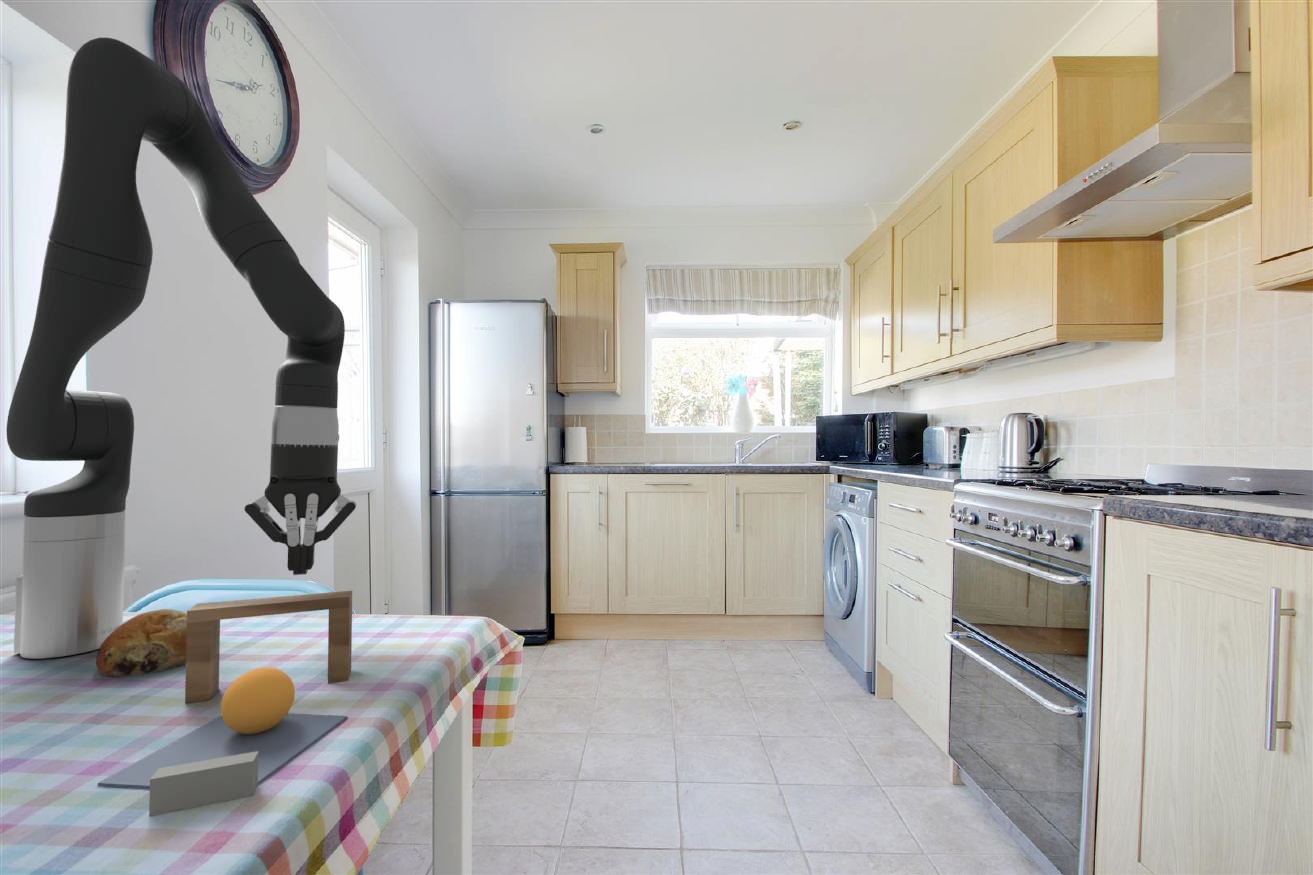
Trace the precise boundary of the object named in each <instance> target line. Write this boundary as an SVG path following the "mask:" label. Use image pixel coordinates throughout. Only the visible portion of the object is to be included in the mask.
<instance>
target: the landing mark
mask: <svg viewBox="0 0 1313 875" xmlns="http://www.w3.org/2000/svg"><path fill="white" fill-rule="evenodd" d="M347 719H348V715H334V714H333V715H332V714H311V713H310V714H309V713H289V712H288V714H287V715H286V716H285V717H284V719H283V720H282V721H280V722H279V723H278V724H277V725H275V726H274V727H272V728H270V729H269V730H266V731H264V732H261V733H257V734H242V733H238V732H236V731H233V730H232V729H230V728H229V727H228V726H227V725H226V724H225V722H224V720H223V718H222V715H220V716H218V717H216V718H214V719H212V720H211V721H209V722H206V723H205V724H203V725H201V726H198V728H195V729H194V730H192V731H191V732H188V733H187V734H185V735H183V736H181V737H179V738H178V739H176V740H174V741H172V742H170V743H168V744H166V745H164V746H163V747H161V748H159V749H157V750H156V751H154V752H152V753H150V754H148V755H146V756H144V757H143V758H141V759H139V760H137V761H135V762H133V763H132V764H129V765H127V766H126V767H124V768H122V769H121V770H118V771H117V772H115V773H113V774H112V775H109V776H108V777H106V778H104V779H102V780H100V781H99V782H97V787H112V786H113V787H116V786H117V787H116V788H130V787H131V789H133V788H134V789H148V790H150V779H151V777H152V776H153V775H154V774H155V772H156V771H157V770H158V769H159V768H164V767H169V766H175V765H181V764H187V763H192V762H198V761H204V760H210V759H216V758H221V757H227V756H233V755H239V754H245V753H250V752H256V751H259V752H258V785H260V784H261V783H262V782H264V781H266V779H268V778H269V777H270V776H272V775H273V774H275V772H277V771H279V770H280V769H281V768H283V767H284V766H285V765H287V764H288V763H289V762H290V761H292V760H293V759H295V758H296V757H297V756H298V755H300V754H301V753H303V752H304V751H306V749H307V750H308V748H309V747H311V746H312V745H313V744H315V743H316V742H317V741H319V740H320V739H322V738H323V737H324V736H326V735H327V734H328V733H330V732H331V731H332V730H333V729H335V728H336V727H338V725H340V724H341V723H343V722H344V721H345V720H347Z"/></svg>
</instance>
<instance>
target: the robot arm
mask: <svg viewBox="0 0 1313 875" xmlns="http://www.w3.org/2000/svg"><path fill="white" fill-rule="evenodd" d="M69 66H70V68H69V70H68V76H67V87H66V104H65V105H66V106H65V120H64V121H65V122H64V123H65V124H64V125H65V126H64V147H63V156H62V164H61V170H60V171H61V172H60V177H59V183H58V190H57V196H56V202H55V210H54V215H53V220H52V223H51V228H50V230H49V234H48V240H47V243H46V251H45V256H44V259H43V266H42V271H41V272H42V273H41V279H40V286H39V293H38V299H37V303H36V304H37V305H36V311H35V316H34V317H35V318H34V321H33V326H32V330H31V331H32V332H31V336H30V339H29V344H28V347H27V350H26V353H25V356H24V359H23V364H22V366H21V370H20V372H19V375H18V379H17V382H16V386H15V389H14V391H13V395H12V399H11V402H10V405H9V406H10V407H9V410H8V415H7V422H6V428H5V429H6V441H7V445H8V447H9V450H10V452H11V453H12V454H13V455H14V456H15V457H16V458H19V459H21V460H24V461H31V462H32V461H33V462H34V461H35V462H74V461H76V462H77V461H78V462H79V461H80V462H82V461H84V463H83V466H82V469H81V470H80V472H78V473H77V474H76V475H74V476H73V477H70V478H69V479H67V480H65V481H63V482H60V483H57V484H54V485H51V486H48V487H44V488H40V489H38V490H34V491H32V492H30V493H28V494H27V495H26V497H25V498H24V502H23V503H24V504H23V515H24V517H23V538H22V541H23V546H22V574H21V575H19V576H17V577H16V580H15V600H14V602H15V604H14V630H13V631H14V632H13V634H14V637H13V638H14V640H13V653H14V654H20V657H22V658H23V659H51V658H52V659H53V658H59V657H65V656H66V657H67V656H72V655H77V654H78V655H79V654H82V653H84V654H85V653H87V652H88V653H89V652H92V651H96V650H99V648H100V646H101V644H102V643H103V642H104V640H105V639H106V638H107V637H108V636H109V635H110V634H111V633H112V632H113V631H115V630H116V629H117V628H118V627H119V626H120V625H122V624H123V623H124V622H123V621H124V597H125V596H124V591H125V588H124V586H125V583H124V582H125V542H126V539H125V538H126V537H125V536H126V532H125V531H126V502H127V498H128V497H127V496H128V493H129V488H130V483H131V482H130V481H131V466H132V457H133V456H132V454H133V447H134V446H133V445H134V437H135V417H134V412H133V408H132V406H131V404H130V401H129V400H128V399H127V398H126V397H125V396H123V395H121V394H120V393H114V392H107V391H96V390H95V391H94V390H83V389H81V390H80V389H69V388H68V385H69V383H70V379H71V377H72V375H73V372H75V371H74V370H75V369H76V368H77V365H78V364H79V363H80V360H81V359H82V358H83V357H84V355H85V354H87V352H88V351H89V350H90V349H91V348H92V347H94V346H95V345H96V344H97V343H98V342H100V341H101V340H102V339H103V338H104V337H105V336H107V335H109V334H110V333H111V332H112V331H113V330H115V329H116V328H117V327H119V326H120V325H121V324H123V322H125V321H126V320H127V319H128V318H129V317H130V316H131V315H132V314H133V313H134V312H136V311H137V309H138V308H139V307H140V306H141V305H142V303H143V301H144V299H145V295H146V292H147V291H146V290H147V287H148V283H149V278H150V272H151V269H152V262H153V252H154V251H153V242H152V237H151V233H150V229H149V226H148V222H147V219H146V217H145V213H144V210H143V206H142V204H141V199H140V195H139V192H138V187H137V165H138V159H139V156H140V151H141V144H142V141H145V142H148V143H149V144H151V146H153V147H154V149H155V150H156V151H158V152H159V153H160V154H161V155H162V156H163V157H165V159H166V160H168V162H169V163H170V164H171V165H172V167H174V168H175V169H176V171H177V172H178V173H179V174H180V175H181V177H182V178H183V179H184V180H185V183H186V184H187V185H188V187H189V189H190V191H191V193H192V195H193V198H194V200H195V203H196V206H197V208H198V211H199V215H200V217H201V220H202V222H203V224H204V226H205V227H206V230H207V231H208V233H209V234H210V236H211V238H212V239H213V241H214V242H215V243H216V245H217V246H218V248H219V249H220V250H221V252H222V253H223V254H224V255H225V256H226V258H227V260H229V262H230V263H231V264H232V266H233V267H234V268H235V269H236V271H237V272H238V273H239V275H240V276H242V277H243V279H245V281H246V282H247V283H248V285H249V288H250V289H251V291H252V292H253V294H254V296H255V297H256V299H257V301H258V302H259V304H260V305H261V307H262V309H263V310H264V311H265V313H266V314H267V315H268V317H269V318H270V320H271V321H272V323H273V324H274V325H275V326H276V327H277V328H278V329H279V330H280V332H282V333H283V334H284V335H286V336H287V341H286V342H287V343H286V344H287V345H286V350H285V351H286V353H285V360H284V362H283V363H282V364H280V365H279V366H278V368H277V372H276V377H275V378H276V379H275V392H274V393H275V394H274V395H275V398H274V405H275V406H274V411H273V412H274V413H273V417H272V422H271V423H272V424H271V436H270V437H271V440H270V464H269V465H270V468H269V481H268V484H267V486H266V488H265V489H264V495H262V496H261V497H259V498H257V499H256V500H255V501H252V502H250V503H248V504H246V505H244V511H245V513H246V514H247V515H248V516H249V517H250V518H251V519H252V521H254V523H255V524H256V525H257V526H258V527H259V528H260V529H261V530H262V531H263V532H264V533H265V535H267V537H269V539H270V540H271V541H273V542H274V543H280V544H284V545H285V546H286V547H287V569H288V571H289V572H291V571H292V575H293V576H299V575H300V576H301V575H307V574H308V570H312V569H313V566H314V564H315V545H316V544H317V543H319V542H322V541H327V540H329V539H330V538H331V536H332V535H333V534H335V532H336V531H337V530H338V529H339V527H340V526H341V525H342V524H343V523H344V522H345V520H347V518H348V517H349V516H350V515H352V513H353V512H354V511H355V510H356V508H357V503H356V502H355V501H354V500H350V499H349V498H348V497H346V496H345V495H343V494H342V492H341V491H342V490H341V487H340V485H339V483H338V459H339V458H338V457H339V455H338V453H339V441H340V434H339V432H340V431H339V430H340V428H339V427H340V426H339V417H338V399H339V396H338V395H339V379H338V378H339V377H338V376H339V370H340V369H339V368H340V364H341V360H342V355H343V349H344V344H345V343H344V342H345V332H346V327H345V318H344V315H343V313H342V311H341V308H340V307H339V306H338V305H337V304H336V303H335V302H334V301H333V300H332V299H330V298H329V297H328V295H326V293H325V292H324V291H323V290H322V289H321V288H320V286H319V285H318V284H317V282H316V281H315V280H314V279H313V278H312V276H311V275H310V274H309V273H308V271H307V270H306V269H305V268H304V266H303V265H302V264H301V263H300V259H299V256H298V255H297V253H296V252H295V250H294V249H293V246H291V244H290V243H289V241H288V240H287V239H286V237H285V236H284V234H283V233H282V232H281V231H280V229H279V228H278V227H277V226H276V224H275V223H274V221H272V219H271V218H270V216H269V215H268V214H267V212H266V211H265V210H264V209H263V207H262V206H261V204H260V203H259V202H258V200H257V199H256V198H255V196H254V195H253V194H252V192H251V191H250V189H249V188H248V186H247V185H246V183H245V182H244V181H243V179H242V178H241V176H240V174H239V172H238V171H237V169H236V168H235V166H234V164H233V163H232V161H231V160H230V158H229V156H228V155H227V153H226V152H225V149H224V148H223V146H222V145H221V143H220V141H219V139H218V137H217V135H216V134H215V132H214V129H213V127H212V126H211V124H210V121H209V120H208V118H207V116H206V114H205V112H204V111H203V109H202V107H201V105H200V103H199V101H198V100H197V98H196V97H195V95H194V94H193V92H192V90H191V89H190V88H189V86H188V85H187V84H186V83H185V82H184V81H183V80H182V79H180V78H179V77H178V76H176V74H174V73H173V72H171V71H170V70H168V68H165V67H164V66H162V65H161V64H159V63H158V62H157V61H155V60H153V59H151V57H148V56H147V55H145V54H144V53H142V52H140V51H139V50H138V49H136V48H134V47H132V46H131V45H129V44H127V43H126V42H124V41H122V40H119V39H115V38H112V37H96V38H93V39H90V40H88V41H87V42H86V43H85V42H84V44H82V46H80V47H79V49H78V50H77V51H76V53H75V55H74V57H73V59H72V60H71V63H70V65H69ZM335 502H336V506H335V507H334V510H335V512H336V513H337V514H336V515H335V516H334V517H333V518H332V519H331V520H330V521H329V522H328V523H327V524H326V525H325V527H323V529H321V530H318V526H319V524H318V523H319V519H320V518H321V517H322V516H323V515H325V513H326V512H327V511H328V510H329V508H331V506H332V505H333V504H334V503H335ZM269 503H270V505H271V506H272V507H273V508H274V509H275V510H276V512H277V513H278V514H279V515H280V516H281V517H282V518H284V519H285V528H286V531H284V529H283V528H282V527H281V526H280V525H279V524H278V522H276V521H275V520H274V518H273V517H272V516H271V515H270V514H269V512H270V511H271V507H270V505H269ZM302 519H304V525H303V526H304V527H303V528H304V531H303V538H302V529H301V526H302V525H301V524H302ZM301 541H302V543H301Z"/></svg>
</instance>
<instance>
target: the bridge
mask: <svg viewBox="0 0 1313 875" xmlns="http://www.w3.org/2000/svg"><path fill="white" fill-rule="evenodd" d="M326 610H328V630H327V631H328V633H327V634H328V635H327V636H328V637H327V638H328V639H327V640H328V641H327V642H328V643H327V644H328V645H327V647H328V648H327V652H328V653H327V684H332V683H338V682H346V681H349V679H350V677H351V672H352V641H353V640H352V637H353V636H352V635H353V633H352V632H353V630H352V629H353V627H352V625H353V590H344V591H343V590H341V591H331V592H329V591H328V592H319V593H318V592H317V593H307V594H296V595H295V594H294V595H284V596H273V597H260V598H259V597H258V598H249V599H236V600H224V601H222V600H221V601H215V602H201V603H200V602H199V603H197V604H195V605H194V606H192V607H191V608H189V609H187V610H186V613H187V634H186V664H185V686H184V688H185V691H184V696H185V697H184V704H188V703H194V702H203V701H208V700H209V701H210V700H211V699H212V697H213V696H214V695H215V694H216V693H217V692H218V690H219V689H220V654H221V653H220V652H221V651H220V649H221V648H220V645H221V642H220V641H221V638H220V637H221V620H230V619H232V620H233V619H242V618H251V617H252V618H253V617H254V618H255V617H263V616H264V617H265V616H271V615H272V616H274V615H284V614H285V615H286V614H294V613H304V612H317V611H326Z"/></svg>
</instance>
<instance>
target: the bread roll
mask: <svg viewBox="0 0 1313 875" xmlns="http://www.w3.org/2000/svg"><path fill="white" fill-rule="evenodd" d="M186 634H187V612H184V611H181V610H177V609H173V608H169V609H168V608H161V609H157V610H151V611H147V612H143V613H140V614H138V615H136V616H134V617H132V618H130V619H128V620H126V621H125V622H123V624H122V625H120V626H119V627H118V628H117V629H116V630H115V631H113V632H112V633H111V634H110V635H109V636H108V637H107V638H106V639H105V640H104V642H103V643H102V644H101V646H100V648H99V649H98V652H97V655H96V660H95V665H96V669H97V670H98V673H100V674H101V675H103V676H105V675H106V676H105V677H134V676H141V675H146V674H147V675H148V674H152V673H157V672H161V671H166V670H169V669H173V668H175V667H179V666H183V665H186ZM151 672H152V673H151Z"/></svg>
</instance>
